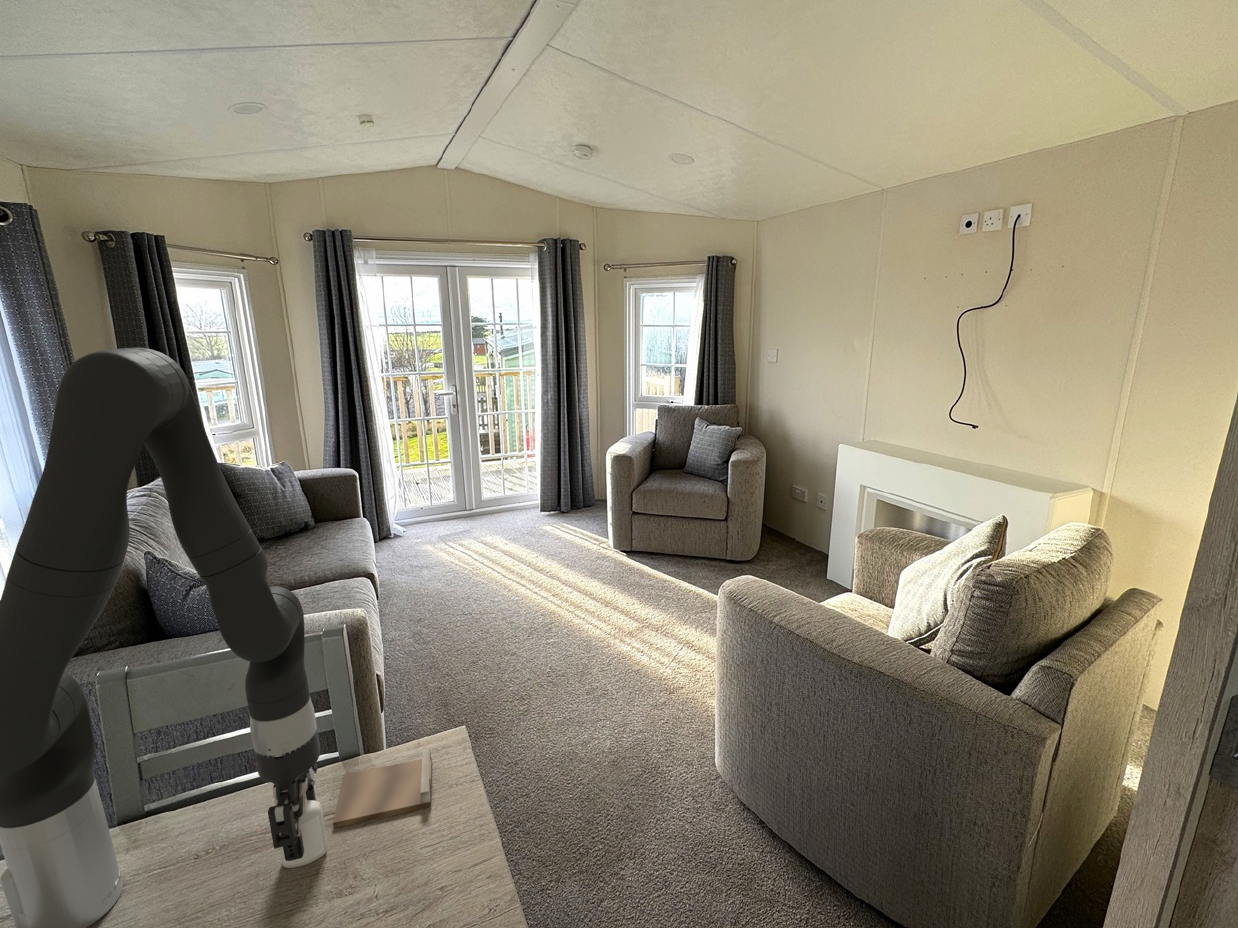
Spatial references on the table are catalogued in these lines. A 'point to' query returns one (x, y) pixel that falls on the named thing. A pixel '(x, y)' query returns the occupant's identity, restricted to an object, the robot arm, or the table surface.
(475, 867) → the table surface
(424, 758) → the walnut shelf board
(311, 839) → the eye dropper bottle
